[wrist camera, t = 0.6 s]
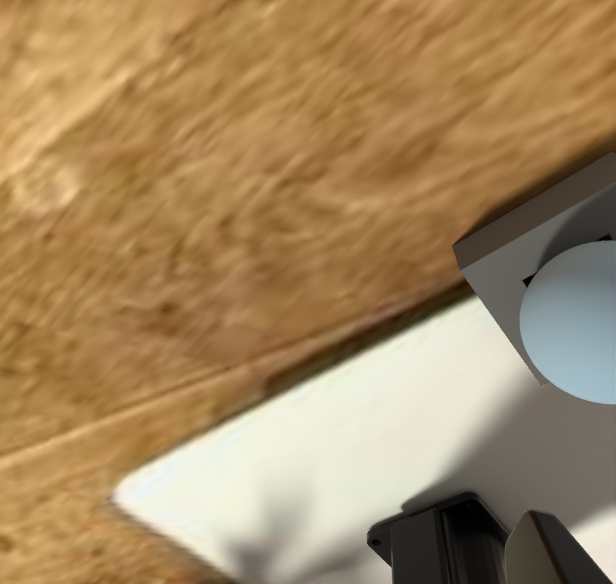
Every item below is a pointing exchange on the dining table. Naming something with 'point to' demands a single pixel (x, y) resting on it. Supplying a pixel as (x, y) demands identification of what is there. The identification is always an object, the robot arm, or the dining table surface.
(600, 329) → the ball
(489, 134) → the dining table surface
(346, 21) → the dining table surface
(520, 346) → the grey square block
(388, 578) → the dining table surface
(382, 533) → the robot arm
